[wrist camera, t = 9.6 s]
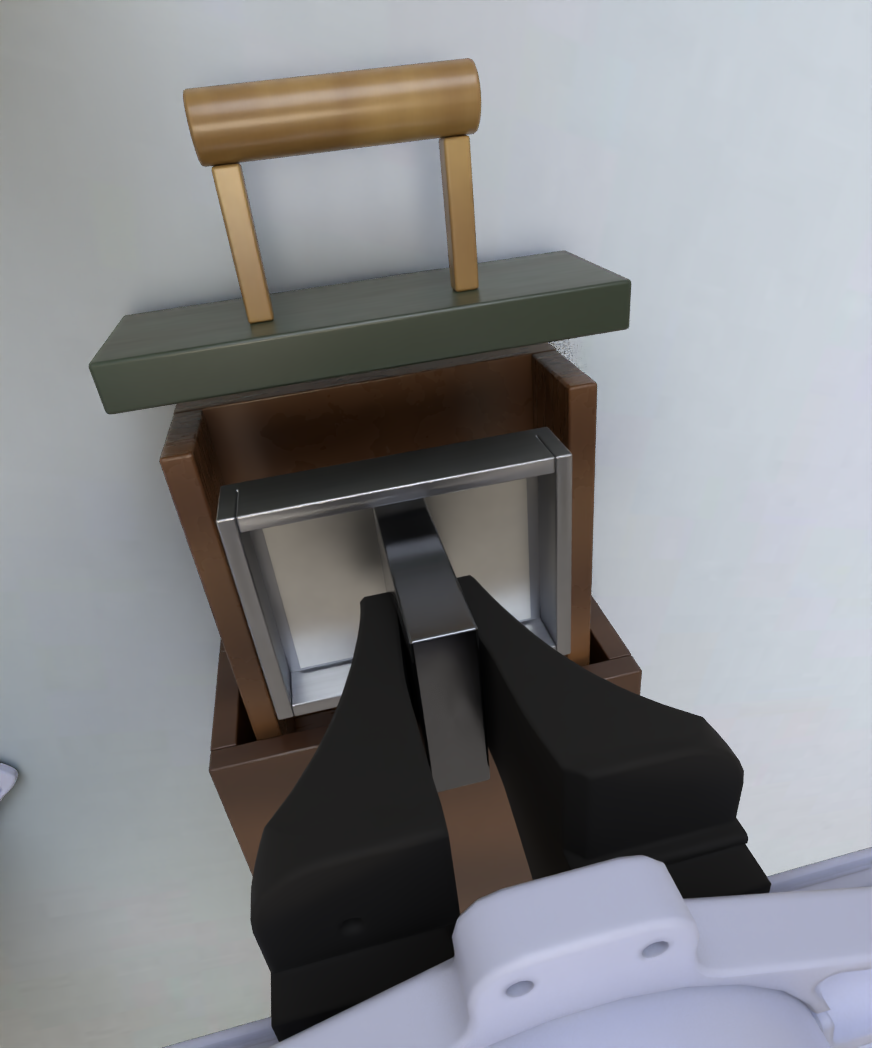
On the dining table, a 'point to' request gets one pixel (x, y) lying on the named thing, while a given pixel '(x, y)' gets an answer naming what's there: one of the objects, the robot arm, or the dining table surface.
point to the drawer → (356, 337)
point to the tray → (405, 573)
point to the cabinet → (470, 811)
